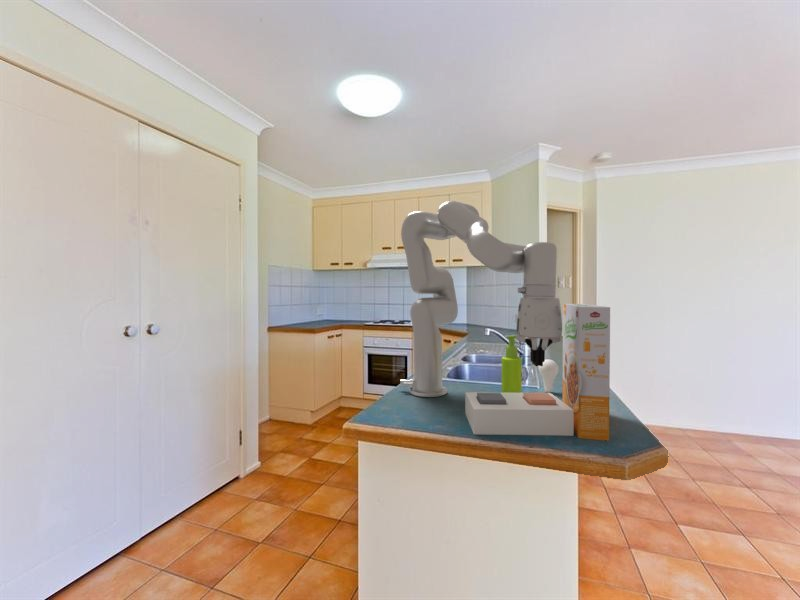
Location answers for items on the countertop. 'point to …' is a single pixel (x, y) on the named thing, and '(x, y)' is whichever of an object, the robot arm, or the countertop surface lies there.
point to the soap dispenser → (511, 369)
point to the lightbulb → (548, 374)
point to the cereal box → (587, 368)
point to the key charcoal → (491, 398)
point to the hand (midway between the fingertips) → (537, 364)
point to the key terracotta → (539, 399)
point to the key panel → (518, 416)
